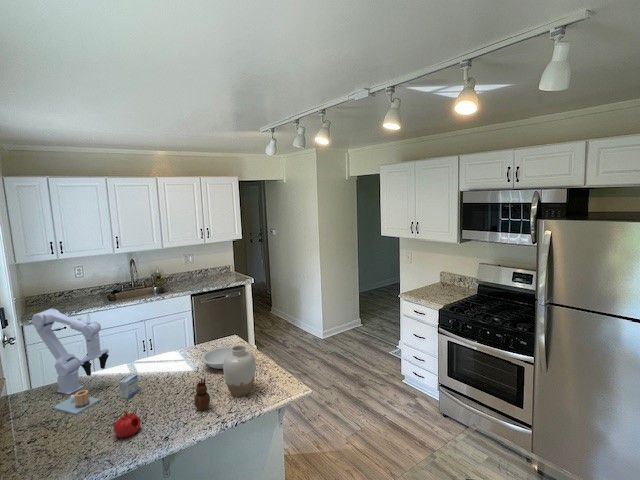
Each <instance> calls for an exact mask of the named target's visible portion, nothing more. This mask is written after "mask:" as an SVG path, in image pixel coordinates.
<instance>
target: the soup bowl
mask: <svg viewBox="0 0 640 480" xmlns="http://www.w3.org/2000/svg"><path fill="white" fill-rule="evenodd" d="M234 346H235V345H234ZM234 346H232V345H231V346H220V347H216V348H212V349H210V350H207V351H206V352H205V353H203V355H202V356H201V361H202V362H203V363H204V364H206V365H208V367H210V368H212V369H215V370H216V369H217V370H218V369H219V370H220V369H221V370H223V363H224V360H225V358H226V356H227V355H229V354H230V353H232V351H231V349H232V347H234Z"/></svg>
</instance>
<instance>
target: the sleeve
mask: <svg viewBox="0 0 640 480" xmlns="http://www.w3.org/2000/svg"><path fill="white" fill-rule="evenodd" d="M74 395H75V403H76V405H75V406H76V408H83V407H86V406H87V405H89V403H90V400H89V397H90V394H89V389H82V390H79V391H77V392H75V394H74Z"/></svg>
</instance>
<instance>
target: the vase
mask: <svg viewBox="0 0 640 480" xmlns="http://www.w3.org/2000/svg"><path fill="white" fill-rule="evenodd" d="M246 349H247V346H246V345H243V344H242V345H241V344H240V345H234V347H232V349H231V351H232V353H230V354H229V355H227V356H226V358H225V360H224V363H223V369H222V370H223V376H224V377H223V378H224V380H225V384H226V386H227V389H228V390H229V392H230V394H231V396H233V397H236V396H237V398H238V397H245V396H247V395H249V394H250V393H251V391H252V389H253V385H254V382H255V377H256V370H257V365H256V363H257V362H256V359H255V356H254V354H253V353H252V352H250V351H247V350H246Z"/></svg>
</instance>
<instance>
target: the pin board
mask: <svg viewBox="0 0 640 480" xmlns="http://www.w3.org/2000/svg"><path fill="white" fill-rule="evenodd" d="M89 400H90V403H89V405H87V406H86V407H83V408H76V406H75V405H76V403H75V394H70V397H69V398H68V399H65V400H64V401H62V402H59V403H58V404H57V405H54V406H53V407H52V409H53V410H56V411H60V412H64V413H67V414H71V415H75V416H78V415H79V414H81V413H82V412H83V411H86V410H87V409H89V408H91V407H92V406H94V405H96V404H98V403H100V402H101V399H100V398H95V397H93V396H89Z"/></svg>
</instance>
